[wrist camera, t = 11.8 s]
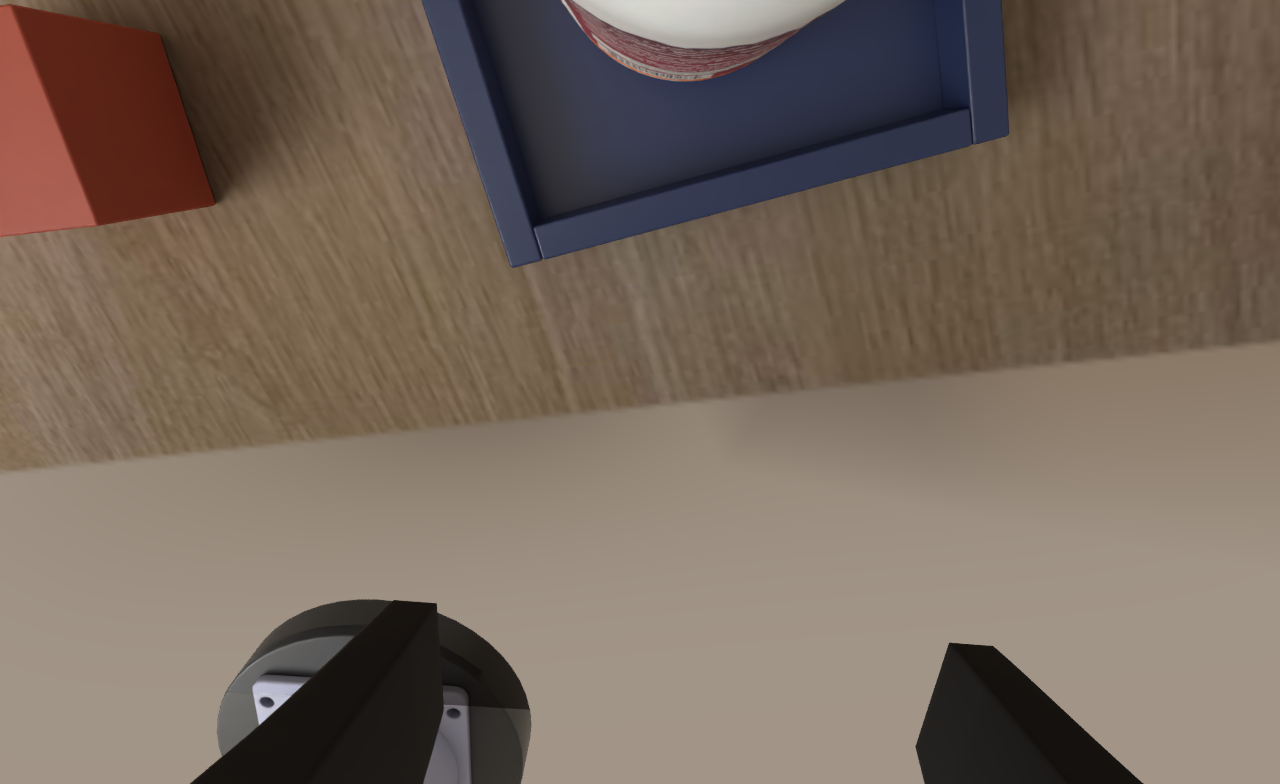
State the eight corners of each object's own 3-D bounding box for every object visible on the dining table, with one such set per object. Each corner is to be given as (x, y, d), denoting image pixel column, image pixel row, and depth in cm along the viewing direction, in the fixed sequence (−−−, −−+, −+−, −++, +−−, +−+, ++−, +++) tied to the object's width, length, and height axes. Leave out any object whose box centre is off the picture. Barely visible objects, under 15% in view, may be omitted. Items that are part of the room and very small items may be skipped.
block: (216, 205, 17) (98, 225, 14) (71, 221, 18) (-86, 246, 14) (160, 33, 16) (10, 3, 12) (2, 53, 16) (-193, 30, 12)
